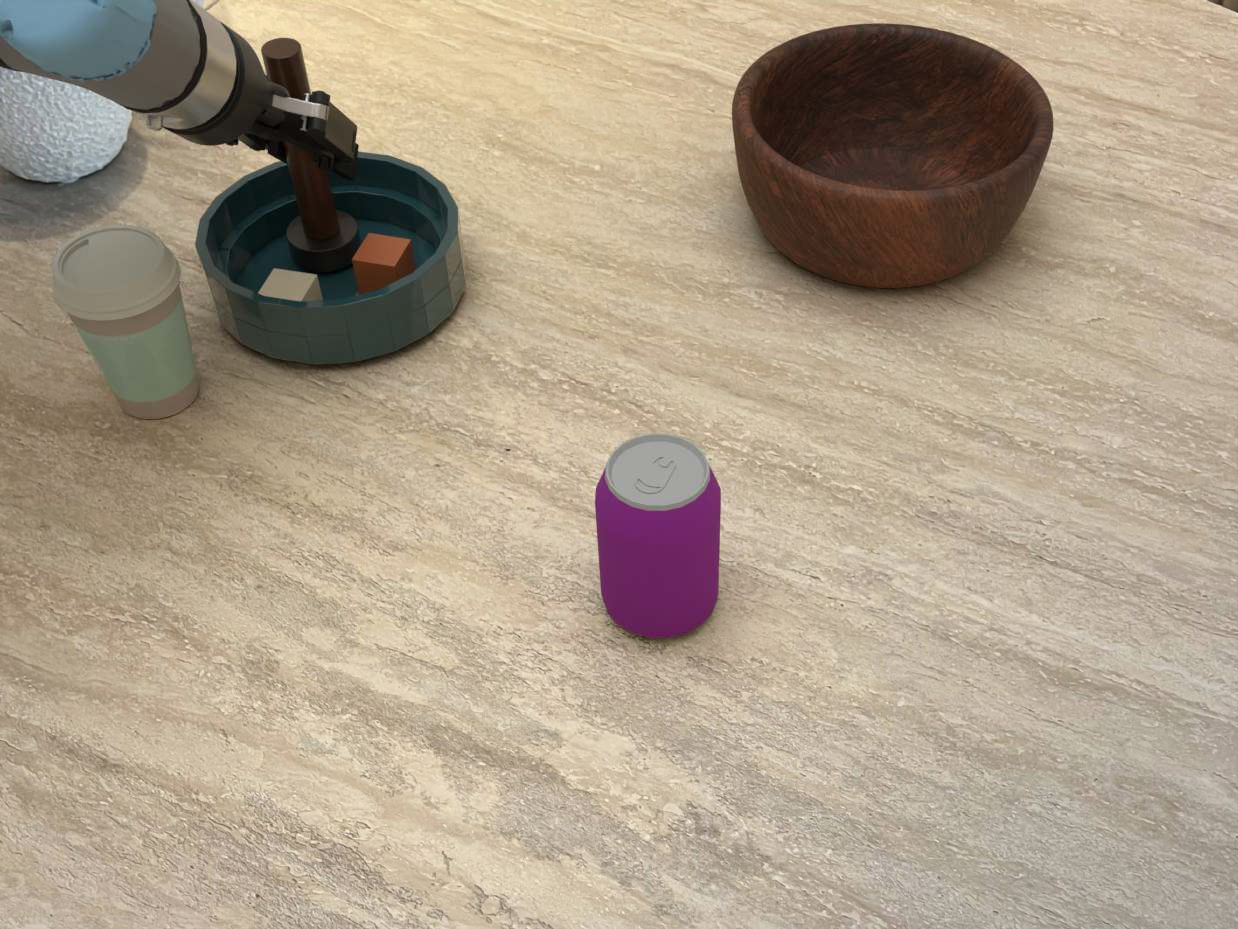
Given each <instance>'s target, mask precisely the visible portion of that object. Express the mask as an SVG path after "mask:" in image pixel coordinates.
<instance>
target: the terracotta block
mask: <svg viewBox="0 0 1238 929" xmlns="http://www.w3.org/2000/svg"><path fill="white" fill-rule="evenodd" d="M352 263H353V268H354V272H355V277H356V282H357V286H358V291H359V295H360V294H364V293H368V292H372V291H376V290H379V289H381V288H383V287H385V286H387V285H389V284H391V283H393V282H395V281H398V280H400V279H402V278H404V277H406V276H408V275H410V274H412V273H413V272H414V271H415V270H416V266H415V260H414V255H413V249H412V243H411V240H410V239H405V238H398V237H392V236H386V235H380V234H373V233H368V235H367V236H366V238H365V239H364V241H363V243H362V244H361V246H360V247H359V249H358V250H357V252H356V254H355V255H354V257H353V258H352Z"/></svg>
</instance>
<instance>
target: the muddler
mask: <svg viewBox="0 0 1238 929" xmlns="http://www.w3.org/2000/svg"><path fill="white" fill-rule="evenodd" d="M260 52H261V57H262V60H263V62H262V63H263V65H264V66H263V67H264V71H265V74H266V75H267V76H268V78H269V80H270V81H271V82H273V83H275V84H278V85H280V86H282V87H284V88H285V89H286V90H287V91H288V92H289V95H290V98H294V99H299V100H303V97H304V93H309V94H312V91H311V85H310V82H309V81H310V80H309V76H308V72H307V67H306V62H305V58H304V53H303V48H302V44H301V43H300V42H299V41H298V40H296V39H295V38H292V37H291V38H290V37H276V38H273V39H270V40H268V41H266V42H265V43H263V44H262V46H261V48H260ZM282 142H283V146H284V150H285V154H286V158H287V163H288V167H289V171H290V175H291V180H292V184H293V188H294V192H295V196H296V201H297V205H298V209H299V213H300V216H298V217H296V218H295V219H294V220H293V221H292V222H291V223H290V224H289V226H288V227H287V230H286V237H287V241H288V245H289V249H290V253H291V257H292V259H293V261H294V262H295V263H296V264H297V265H298V266H299V267H301V268H303V269H305V270H308V271H313V272H331V271H336V270H340V269H342V268H345V267H347V266H349V265H350V264H352V258H353V257H354V255H355V254H356V252H357V250H358V249H359V247H360V246H361V239H360V234H359V229H358V224H357V222H356V220H355V219H354V218H353V217H352V216H351V215H350V214H348V213H346V212H343V211H340V210H336V207H335V202H334V198H333V193H332V188H331V184H330V179H329V174H328V170H324V169H320V168H317V162H315V161H313V160H312V156H313V154H311V153H309V152H307V151H305V150H303V149H301V148H299V147H297V146H295V145H292V144H290V143H288V142H286V141H282Z"/></svg>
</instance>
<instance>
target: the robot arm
mask: <svg viewBox="0 0 1238 929" xmlns="http://www.w3.org/2000/svg"><path fill="white" fill-rule="evenodd" d="M0 68H3V69H6V70H11V71H14V72H19V73H25V74H29V75H33V76H37V77H42V78H46V79H50V80H54V81H58V82H62V83H66V84H69V85H72V86H76V87H79V88H83V89H85V90H88V91H90V92H91V93H94V94H97V95H98V96H101V97H103V98H105V99H107V100H110V101H112V102H113V103H116V105H119V106H121V107H123V108H124V109H126V110H129V111H131V112H133V113H136V114H138V115H139V116H140V117H143V118H144V119H145V120H146V122H145V126H146V127H147V129H149V130H151V131H154V132H161V131H162V130H163V129H164V130H166V131H168V132H171V133H172V134H174V135H176V136H178V137H180V138H181V139H184V140H186V141H188V142H190V143H193V144H197V145H200V146H208V147H210V146H212V147H215V146H220V145H226V146H228V147H234V146H239V142H241V143H242V144H244V145H245V146H246V147H248V148H249V149H250V150H253V151H256V152H260V151H267V154H268V155H269V156H271V157H273V158H275V159H277V160H278V161H282V162H284V163H285V164H287V165H288V163H287V158H286V154H285V150H284V146H283V142H282V141H286V142H288V143H290V144H292V145H295V146H297V147H299V148H301V149H303V150H305V151H307V152H309V153H311V154H313V156H312V160H313V161H315V162H317V168H320V169H324V170H331V171H332V172H334V173H336V174H337V175H339V176H341V177H342V178H344V179H347V180H354V181H355V173H356V165H357V156H358V151H359V149H360V148H359V147H360V145H359V143H357V134H358V125H357V124H356V123H355V122H354V121H353V120H352V119H350V118H349V117H348V116H347V115H345V113H344V112H342V111H341V110H340V109H339V108H338V107H337V106H336V105H335V104H333V103H332V102H331V95H330V94H329V93H326V91H324V90H315V91H311V94H309V93H304V97H303V100H299V99H294V98H290V95H289V92H288V91H287V90H286V89H285V88H284V87H282V86H280V85H278V84H275V83H273V82H271V81H270V80H269V78H268V76H267V74H266V72H265V69H263V66H262V63H261V61H260V58H259V56H258V54H257V53H256V51H255V49H254V48H253V47H252V45H251V44H250V43H249V42H248V41H247V40H246V39H245V38H244V37H243V36H242V35H240V34H239V33H238V32H236V31H234V30H233V29H232V28H230V27H229V26H228V25H227V24H225V23H224V22H222V21H221V20H220V19H218V18H217V17H215V16H214V15H213V14H212V13H210V12H209V11H207V10H206V9H205V8H204V7H202V6H201V5H199V4H198V3H197V2H195V1H194V0H0Z"/></svg>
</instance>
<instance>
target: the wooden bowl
mask: <svg viewBox="0 0 1238 929" xmlns="http://www.w3.org/2000/svg"><path fill="white" fill-rule="evenodd" d="M731 124H732V133H733V143H734V150H735V151H734V152H735V158H736V164H737V171H738V175H739V180H740V184H741V187H742V190H743V193H744V196H745V199H746V202H747V205H748V207H749V210H750V211H751V214H752V215H753V217H754V219H755V221H756V223H757V225H758V226H759V228H760V229H761V231H762V233H764V235H765V236H766V238H767V239H768V240H769V241H770V243H771V244H772V245H773V246H774V247H775V248H776V249H777V250H778V251H779V252H780V253H782V254H783V255H784V256H785V257H786V258H788V259H789V260H791V261H793V262H794V263H796V264H797V265H799V266H800V267H802V268H804V269H806V270H808V271H809V272H812V273H813V274H816V275H818V276H821V277H824V278H825V279H829V280H833V281H836V282H839V283H843V284H848V285H853V286H857V287H865V288H875V289H902V288H903V289H905V288H914V287H920V286H926V285H929V284H930V285H931V284H933V283H934V284H935V283H937V282H941V281H945V280H947V279H950V278H952V277H955V276H957V275H960V274H962V273H964V272H966V271H968V270H969V269H971V268H973V267H974V266H976V265H978V264H979V263H980V262H982V260H984V259H985V258H986V257H987V256H989V255H990V254H991V253H992V252H993V251H994V250H995V249H996V248H997V247H998V246H999V245H1000V244H1001V243H1002V242H1003V241H1004V239H1005V238H1006V237H1007V236H1008V235H1009V233H1010V232H1011V231H1012V229H1013V228H1014V226H1016V223H1017V222H1018V220H1019V219H1020V217H1021V216H1022V214H1023V213H1024V210H1025V209H1026V206H1027V204H1028V202H1029V200H1030V199H1031V196H1032V194H1033V192H1034V190H1035V187H1036V185H1037V182H1038V181H1039V177H1040V176H1041V172H1042V170H1043V167H1044V164H1045V162H1046V159H1047V156H1048V153H1049V150H1050V147H1051V144H1052V140H1053V137H1054V136H1053V135H1054V130H1055V129H1054V113H1053V108H1052V104H1051V102H1050V99H1049V97H1048V95H1047V93H1046V91H1045V90H1044V88H1043V87H1042V86H1041V84H1040V83H1039V82H1038V81H1037V79H1036V78H1035V77H1034V76H1033V75H1032V74H1031V73H1030V72H1029V71H1028V70H1027V69H1025V67H1023V66H1022V65H1021V64H1020V63H1018V62H1016V61H1015V60H1014V59H1012V58H1011V57H1010V56H1008V55H1006V54H1004V53H1003V52H1002V51H1000V50H997V49H996V48H993V47H991V46H989V45H988V44H985V43H983V42H980V41H977V40H976V39H973V38H970V37H967V36H965V35H960V34H958V33H955V32H951V31H946V30H942V29H937V28H933V27H927V26H922V25H914V24H905V23H903V24H902V23H888V22H887V23H886V22H885V23H883V22H881V23H879V22H877V23H856V24H846V25H845V24H844V25H839V26H832V27H828V28H822V29H819V30H815V31H811V32H807V33H805V34H802V35H799V36H796V37H794V38H791V39H789V40H787V41H784V42H782V43H780V44H779V45H776V46H774V47H773V48H771V49H770V50H768V51H766V52H765V53H764V54H762V55H761V56H760V57H758V58H757V59H755V61H754V62H753V63H751V64H750V66H748V67H747V69H746V70H745V71H744V72H743V73H742V76H741V77H740V79H739V81H738V82H737V85H736V88H735V90H734V94H733V99H732V102H731Z"/></svg>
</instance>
